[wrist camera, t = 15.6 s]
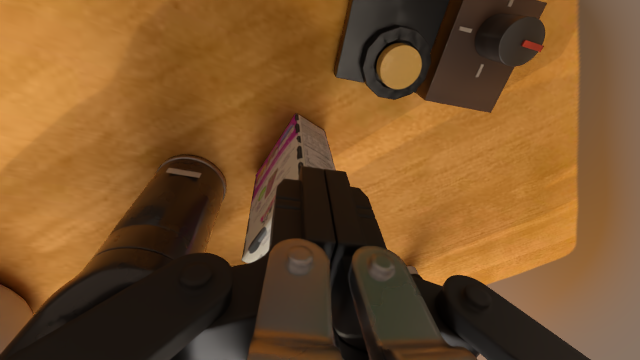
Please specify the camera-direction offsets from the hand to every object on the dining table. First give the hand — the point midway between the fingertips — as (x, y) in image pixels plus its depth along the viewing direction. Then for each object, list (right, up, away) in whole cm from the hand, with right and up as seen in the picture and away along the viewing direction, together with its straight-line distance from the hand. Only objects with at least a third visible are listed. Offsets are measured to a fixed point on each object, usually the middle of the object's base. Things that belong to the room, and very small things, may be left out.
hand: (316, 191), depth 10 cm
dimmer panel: (+18, +16, +26) cm, 35 cm away
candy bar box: (-4, +4, +31) cm, 32 cm away
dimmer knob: (+19, +16, +22) cm, 33 cm away
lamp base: (+8, +19, +23) cm, 31 cm away
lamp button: (+8, +13, +22) cm, 27 cm away
